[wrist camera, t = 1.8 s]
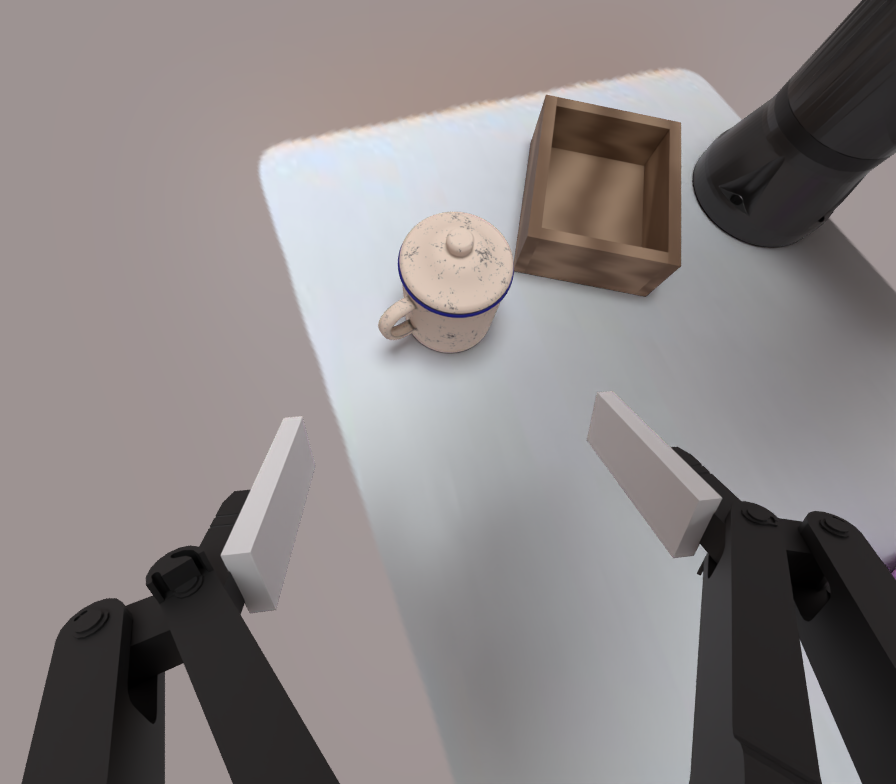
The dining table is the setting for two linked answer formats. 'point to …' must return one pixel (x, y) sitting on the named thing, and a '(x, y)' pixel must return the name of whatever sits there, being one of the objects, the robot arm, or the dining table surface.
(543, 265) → the walnut crate
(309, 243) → the dining table surface
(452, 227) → the teacup with lid
